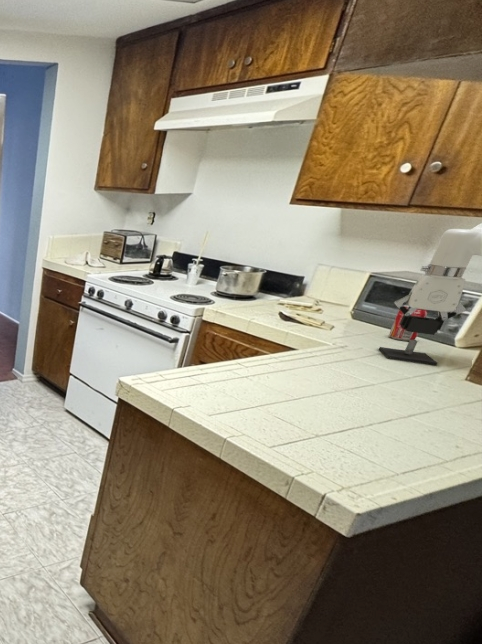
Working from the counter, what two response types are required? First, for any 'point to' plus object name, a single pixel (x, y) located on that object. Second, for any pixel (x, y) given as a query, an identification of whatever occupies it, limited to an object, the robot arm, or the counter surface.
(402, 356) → the base pad
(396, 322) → the soda can
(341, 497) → the counter surface
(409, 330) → the top pad
